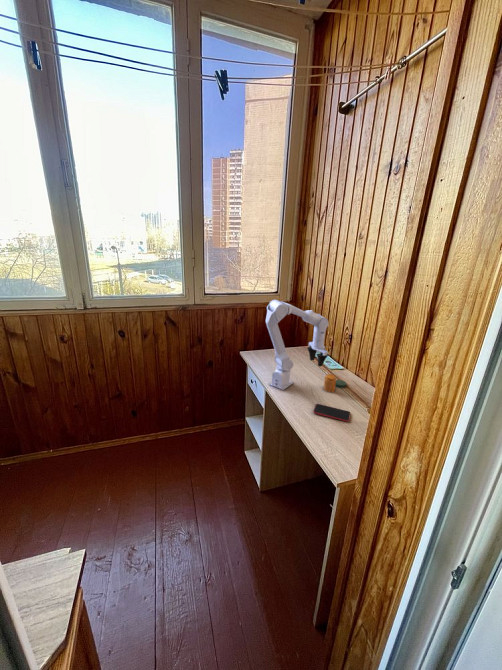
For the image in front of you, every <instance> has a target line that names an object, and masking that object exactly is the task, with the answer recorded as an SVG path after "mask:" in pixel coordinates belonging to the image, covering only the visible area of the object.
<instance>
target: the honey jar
mask: <svg viewBox="0 0 502 670" xmlns="http://www.w3.org/2000/svg"><path fill="white" fill-rule="evenodd" d="M336 380H337V377H336V375H334V374H330V373H328V374H326V375H325V376H324V380H323V391H325V392H328V393H333V392H335V391H336V386H335V385H336Z"/></svg>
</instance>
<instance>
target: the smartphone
mask: <svg viewBox="0 0 502 670" xmlns="http://www.w3.org/2000/svg"><path fill="white" fill-rule="evenodd" d="M312 411H313V414H314V415H315V414H316V415H319V416H324V417H327V418H330V419H334V420H340V421H342V422H347V423H348V422H349V421H350V418H351V411H349V410H345V409H341V408H337V407H334V406H329V405H325V404H321V403H316V404H315V406H314V408H313V410H312Z"/></svg>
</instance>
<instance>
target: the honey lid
mask: <svg viewBox="0 0 502 670" xmlns="http://www.w3.org/2000/svg"><path fill="white" fill-rule="evenodd" d="M346 387H347V382H346V381H345V380H342V379H336V385H335V388H340V389H345V388H346Z"/></svg>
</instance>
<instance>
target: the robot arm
mask: <svg viewBox="0 0 502 670" xmlns="http://www.w3.org/2000/svg"><path fill="white" fill-rule="evenodd" d="M290 314H293V315H295V316H297V317H299V318H301V319H302V321H303V322H306V323H308V324H310V325H312V326H313V336H312V341H309V342H308V346H307V348H306V350H307V352H308V354H309V360H310V361H315V359H316V357H317V366H318V367H323V365H324V362H325V360H326V359H327V357H329V354H328V351H327V350H326V346H325V338H326V331H327V328H328V327H329V324H330V323H329V320H328V318H327V317H325V316H322V315H321V313H317V312H314V310H312V309H310V310H309V309H308V310H303V309H301V308H298V307H297V306H295V305H292V304H290V303H287V302H284V301H281V300H278V299H272V300H271V301H269V303H268V305H267V306H266V316H265V325H266V328H267V331H268V334H269V337H270V341H271V343H272V346H273V349H274V362H275V364H276V367H275V370H274V372H273V373H272V375H271V377H272V378H271V383H270V386H273V387H275V388H277V389H279V390H282V391H284V390H286V388H288V387H290V386H291V385H293V381H291V370H292V369H293V368H294V361H293V360H292V359H291V358H290V355H289V354H288V352H287V349H286V346H285V342H284V339H283V338H282V333H281V330H280V327H279V323H280V322H281V321H282V320H283V319H284V318H285V317H286V316H289V315H290ZM317 352H319V353H317Z"/></svg>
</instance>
